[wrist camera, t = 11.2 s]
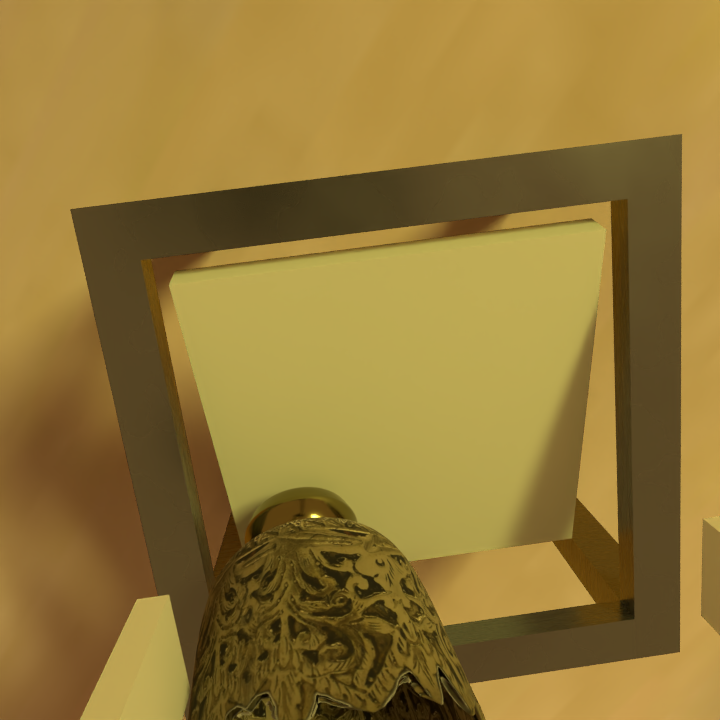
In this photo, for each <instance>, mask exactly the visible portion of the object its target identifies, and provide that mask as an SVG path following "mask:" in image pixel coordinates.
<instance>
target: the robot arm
mask: <svg viewBox="0 0 720 720" xmlns="http://www.w3.org/2000/svg"><path fill="white" fill-rule="evenodd" d="M701 616H702V617H703V618H704V619H705V620H706V621H707V622H708V623H709V624H710V625H711V626H712V627H713V628H714V630H715V631H716V632H717V633H718V634H719V635H720V516H718V517H711V518H704V519H703V537H702V593H701ZM189 694H190V686H189V681H188V677H187V672H186V668H185V664H184V659H183V655H182V650H181V646H180V641H179V637H178V632H177V628H176V624H175V619H174V615H173V610H172V606H171V601H170V597H169V595H163V596H156V597H149V598H142V599H137V600H136V602H135V604H134V606H133V609H132V611H131V613H130V615H129V617H128V619H127V621H126V623H125V625H124V628H123V630H122V632H121V634H120V636H119V638H118V640H117V642H116V644H115V647H114V649H113V651H112V653H111V655H110V657H109V659H108V661H107V663H106V665H105V668H104V670H103V672H102V674H101V676H100V678H99V680H98V682H97V684H96V687H95V689H94V691H93V693H92V695H91V697H90V699H89V701H88V703H87V705H86V708H85V710H84V712H83V714H82V716H81V718H80V720H183V716H184V712H185V709H186V705H187V701H188V698H189Z"/></svg>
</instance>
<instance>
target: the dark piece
mask: <svg viewBox="0 0 720 720" xmlns="http://www.w3.org/2000/svg"><path fill="white" fill-rule="evenodd" d="M244 539H245V545H244V546H243V547H242V548H240V549H239V550H238V551H237V552H236V553H235V554H234V555H233V556H232V557H231V558H230V559H229V561H228V562H227V563H226V565H225V566H224V568H223V569H222V571H221V572H220V574H219V575H218V577H217V579H216V581H215V583H214V585H213V587H212V589H211V591H210V594H209V597H208V600H207V603H206V607H205V610H204V613H203V617H202V622H201V627H200V632H199V637H198V644H197V650H196V657H195V665H194V673H193V681H192V689H191V697H190V706H189V714H188V720H485V717H484V714H483V712H482V710H481V707H480V705H479V703H478V701H477V699H476V697H475V695H474V693H473V691H472V689H471V686H470V684H469V682H468V680H467V678H466V675H465V673H464V671H463V669H462V666H461V664H460V662H459V660H458V658H457V655H456V653H455V651H454V649H453V647H452V644H451V642H450V640H449V638H448V636H447V633H446V631H445V629H444V627H443V625H442V623H441V620H440V618H439V616H438V614H437V612H436V610H435V608H434V606H433V604H432V602H431V600H430V598H429V596H428V594H427V592H426V590H425V588H424V586H423V584H422V583H421V581H420V579H419V577H418V575H417V574H416V572H415V570H414V569H413V567H412V566H411V564H410V563H409V561H408V560H407V558H406V557H405V556H404V555H403V553H402V552H401V551H400V550H399V549H398V548H397V547H396V546H395V545H394V544H393V543H392V542H391V541H390V540H389V539H387V538H386V537H385V536H383V535H382V534H381V533H379V532H378V531H376V530H374V529H372V528H370V527H368V526H366V525H363V524H361V523H358V522H357V518H356V516H355V513H354V512H353V510H352V509H351V508H350V506H349V505H348V504H347V503H346V502H345V501H344V500H343V499H342V498H341V497H340V496H339V495H337V494H335V493H334V492H332V491H329V490H326V489H323V488H317V487H298V488H293V489H288V490H285V491H282V492H280V493H277V494H275V495H273V496H272V497H270V498H268V499H267V500H266V501H264V502H263V503H262V504H261V505H260V506H259V507H258V508H257V509H256V510H255V512H254V513H253V515H252V517H251V519H250V521H249V524H248V526H247V529H246V532H245V538H244Z"/></svg>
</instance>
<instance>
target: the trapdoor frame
mask: <svg viewBox="0 0 720 720" xmlns="http://www.w3.org/2000/svg"><path fill="white" fill-rule="evenodd" d="M681 192H682V134H679V135H671V136H663V137H655V138H647V139H638V140H630V141H622V142H614V143H606V144H598V145H590V146H581V147H573V148H565V149H557V150H549V151H541V152H533V153H524V154H516V155H508V156H500V157H492V158H484V159H476V160H467V161H459V162H451V163H443V164H435V165H427V166H419V167H410V168H402V169H394V170H386V171H378V172H370V173H362V174H353V175H345V176H337V177H329V178H321V179H313V180H305V181H296V182H288V183H280V184H272V185H264V186H256V187H248V188H239V189H231V190H223V191H215V192H207V193H199V194H190V195H182V196H174V197H166V198H158V199H150V200H142V201H133V202H125V203H117V204H109V205H101V206H93V207H85V208H76V209H70V210H71V214H72V219H73V223H74V228H75V232H76V236H77V241H78V245H79V250H80V254H81V258H82V263H83V267H84V272H85V276H86V280H87V285H88V289H89V294H90V298H91V303H92V307H93V311H94V316H95V320H96V325H97V329H98V333H99V338H100V342H101V347H102V351H103V355H104V360H105V364H106V369H107V373H108V377H109V382H110V386H111V391H112V395H113V400H114V404H115V408H116V413H117V417H118V422H119V426H120V430H121V435H122V439H123V444H124V448H125V452H126V457H127V461H128V466H129V470H130V475H131V479H132V483H133V488H134V492H135V497H136V501H137V505H138V510H139V514H140V519H141V523H142V527H143V532H144V536H145V541H146V545H147V549H148V554H149V558H150V563H151V567H152V572H153V576H154V580H155V585H156V589H157V594H158V596H163V595H169V597H170V601H171V606H172V610H173V615H174V619H175V624H176V628H177V632H178V637H179V641H180V646H181V650H182V655H183V659H184V664H185V668H186V672H187V677H188V681H189V686H190V694H189V698H188V701H187V705H186V709H185V712H184V713H185V717H186V720H188V714H189V706H190V697H191V689H192V681H193V673H194V665H195V657H196V650H197V644H198V637H199V632H200V627H201V622H202V617H203V613H204V610H205V607H206V603H207V600H208V597H209V594H210V591H211V589H212V587H213V585H214V583H215V581H216V579H217V577H218V575H219V574H220V572H221V571H222V569H223V568H224V566H225V565H226V563H227V562H228V561H229V559H230V558H231V557H232V556H233V555H234V554H235V553H236V552H237V551H238V550H239V549H240V548H242V545H241V542H240V538H239V535H238V531H237V527H236V524H235V520H234V517H233V513H232V512H231V515H230V518H229V522H228V525H227V528H226V532H225V535H224V538H223V542H222V545H221V548H220V551H219V555H218V558H217V561H216V565H215V568H214V571H213V567H212V562H211V557H210V552H209V547H208V542H207V537H206V532H205V527H204V522H203V517H202V512H201V507H200V502H199V497H198V492H197V487H196V482H195V477H194V472H193V467H192V462H191V457H190V452H189V447H188V442H187V437H186V432H185V427H184V422H183V417H182V412H181V407H180V402H179V397H178V392H177V387H176V382H175V377H174V372H173V367H172V362H171V357H170V352H169V347H168V342H167V337H166V332H165V327H164V322H163V317H162V312H161V307H160V302H159V297H158V292H157V287H156V282H155V277H154V272H153V267H152V262H151V259H154V258H162V257H170V256H178V255H186V254H194V253H201V252H209V251H217V250H225V249H233V248H241V247H249V246H257V245H265V244H273V243H281V242H289V241H297V240H305V239H313V238H321V237H329V236H337V235H345V234H352V233H360V232H368V231H376V230H384V229H392V228H400V227H408V226H416V225H424V224H432V223H440V222H448V221H456V220H464V219H472V218H480V217H488V216H496V215H504V214H511V213H519V212H527V211H535V210H543V209H551V208H559V207H567V206H575V205H583V204H591V203H599V202H607V201H611V232H612V276H613V319H614V363H615V406H616V450H617V494H618V537H619V544H618V543H617V542H616V541H615V540H614V539H613V538H612V536H611V535H610V534H609V533H608V532H607V531H606V530H605V529H604V528H603V526H602V525H601V524H600V523H599V522H598V521H597V520H596V519H595V518H594V517H593V515H592V514H591V513H590V512H589V511H588V510H587V509H586V508H585V507H584V505H583V504H582V503H581V502H580V501H579V500H578V499H577V498H576V505H575V514H574V523H573V531H572V538H571V539H564V540H557V541H552V542H553V543H554V544H555V546H556V547H557V549H558V550H559V551H560V553H561V554H562V556H563V557H564V559H565V560H566V561H567V563H568V564H569V566H570V567H571V568H572V570H573V571H574V573H575V574H576V575H577V577H578V578H579V580H580V581H581V583H582V584H583V585H584V587H585V588H586V590H587V591H588V592H589V594H590V595H591V597H592V598H593V600H594V601H595V602H596V604H591V605H584V606H577V607H570V608H563V609H556V610H550V611H543V612H536V613H529V614H522V615H516V616H509V617H502V618H495V619H488V620H481V621H475V622H468V623H461V624H454V625H447V626H443V627H444V629H445V631H446V633H447V636H448V638H449V640H450V642H451V644H452V647H453V649H454V651H455V653H456V655H457V658H458V660H459V662H460V664H461V666H462V669H463V671H464V673H465V675H466V678H467V680H468V682H469V683H476V682H483V681H489V680H496V679H503V678H509V677H516V676H523V675H529V674H536V673H543V672H550V671H556V670H563V669H570V668H576V667H583V666H590V665H596V664H603V663H610V662H616V661H623V660H630V659H636V658H643V657H650V656H656V655H663V654H670V653H676V652H680V467H681Z"/></svg>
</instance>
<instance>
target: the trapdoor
mask: <svg viewBox="0 0 720 720" xmlns="http://www.w3.org/2000/svg"><path fill="white" fill-rule="evenodd" d="M605 237H606V229H605V228H604V227H602V226H601V225H599V224H598V223H597V222H595V221H594V220H593V219H583V220H575V221H567V222H559V223H551V224H543V225H535V226H527V227H520V228H512V229H504V230H496V231H488V232H480V233H472V234H464V235H456V236H448V237H441V238H433V239H425V240H417V241H409V242H401V243H393V244H385V245H377V246H369V247H362V248H354V249H346V250H338V251H330V252H322V253H314V254H306V255H298V256H290V257H283V258H275V259H267V260H259V261H251V262H243V263H235V264H227V265H219V266H211V267H204V268H196V269H188V270H180V271H175V272H174V274H173V277H172V279H171V281H170V284H169V288H170V291H171V295H172V298H173V302H174V306H175V309H176V313H177V316H178V320H179V324H180V327H181V331H182V334H183V338H184V341H185V345H186V349H187V352H188V356H189V359H190V363H191V366H192V370H193V374H194V377H195V381H196V384H197V388H198V391H199V395H200V399H201V402H202V406H203V409H204V413H205V417H206V420H207V424H208V427H209V431H210V434H211V438H212V442H213V445H214V449H215V452H216V456H217V459H218V463H219V467H220V470H221V474H222V477H223V481H224V485H225V488H226V492H227V495H228V499H229V502H230V506H231V510H232V513H233V517H234V520H235V524H236V527H237V531H238V535H239V538H240V542H241V545H242V547H243V546H244V545H245V539H244V538H245V532H246V529H247V526H248V524H249V521H250V519H251V517H252V515H253V513H254V512H255V510H256V509H257V508H258V507H259V506H260V505H261V504H262V503H263V502H264V501H266V500H267V499H268V498H270V497H272V496H273V495H275V494H277V493H280V492H282V491H285V490H288V489H293V488H298V487H317V488H323V489H326V490H329V491H332V492H334V493H335V494H337V495H339V496H340V497H341V498H342V499H343V500H344V501H345V502H346V503H347V504H348V505H349V506H350V508H351V509H352V510H353V512H354V513H355V516H356V518H357V522H358V523H361V524H363V525H366V526H368V527H370V528H372V529H374V530H376V531H378V532H379V533H381V534H382V535H383V536H385V537H386V538H387V539H389V540H390V541H391V542H392V543H393V544H394V545H395V546H396V547H397V548H398V549H399V550H400V551H401V552H402V553H403V555H404V556H405V557H406V558H407V560H408V561H409V562H410V561H417V560H424V559H431V558H438V557H445V556H452V555H459V554H466V553H473V552H480V551H487V550H494V549H501V548H508V547H515V546H522V545H529V544H536V543H543V542H550V541H557V540H564V539H571V538H572V531H573V523H574V514H575V505H576V496H577V487H578V478H579V469H580V460H581V451H582V442H583V433H584V424H585V416H586V407H587V398H588V389H589V380H590V371H591V362H592V353H593V344H594V335H595V326H596V317H597V308H598V300H599V291H600V282H601V273H602V264H603V255H604V246H605Z"/></svg>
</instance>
